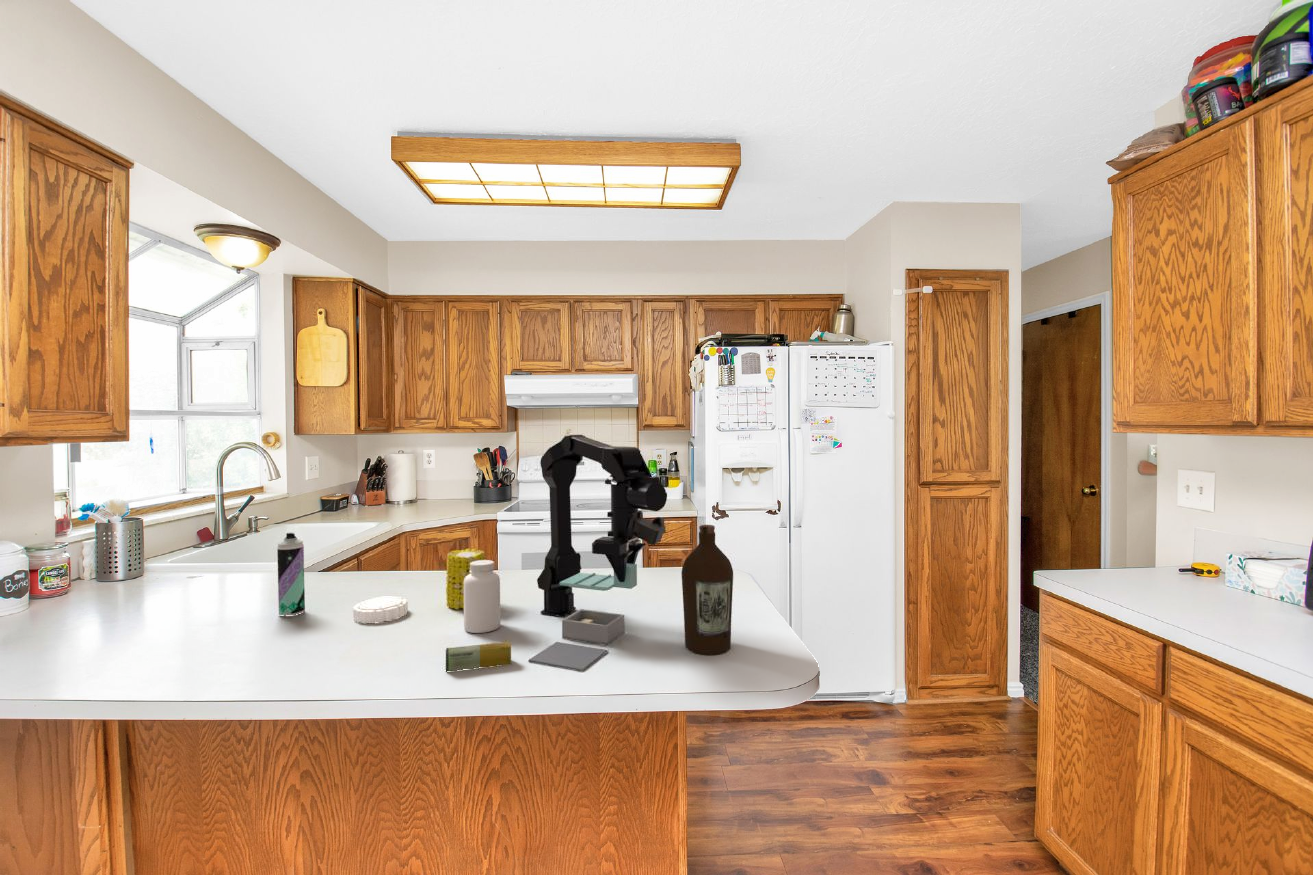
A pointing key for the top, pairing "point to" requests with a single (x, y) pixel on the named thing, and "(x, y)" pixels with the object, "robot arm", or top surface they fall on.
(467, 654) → the medication box
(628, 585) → the lid
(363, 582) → the top surface
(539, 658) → the mat
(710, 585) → the olive oil
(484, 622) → the pill bottle
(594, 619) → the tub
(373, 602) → the mooncake
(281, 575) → the spray can
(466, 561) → the food
